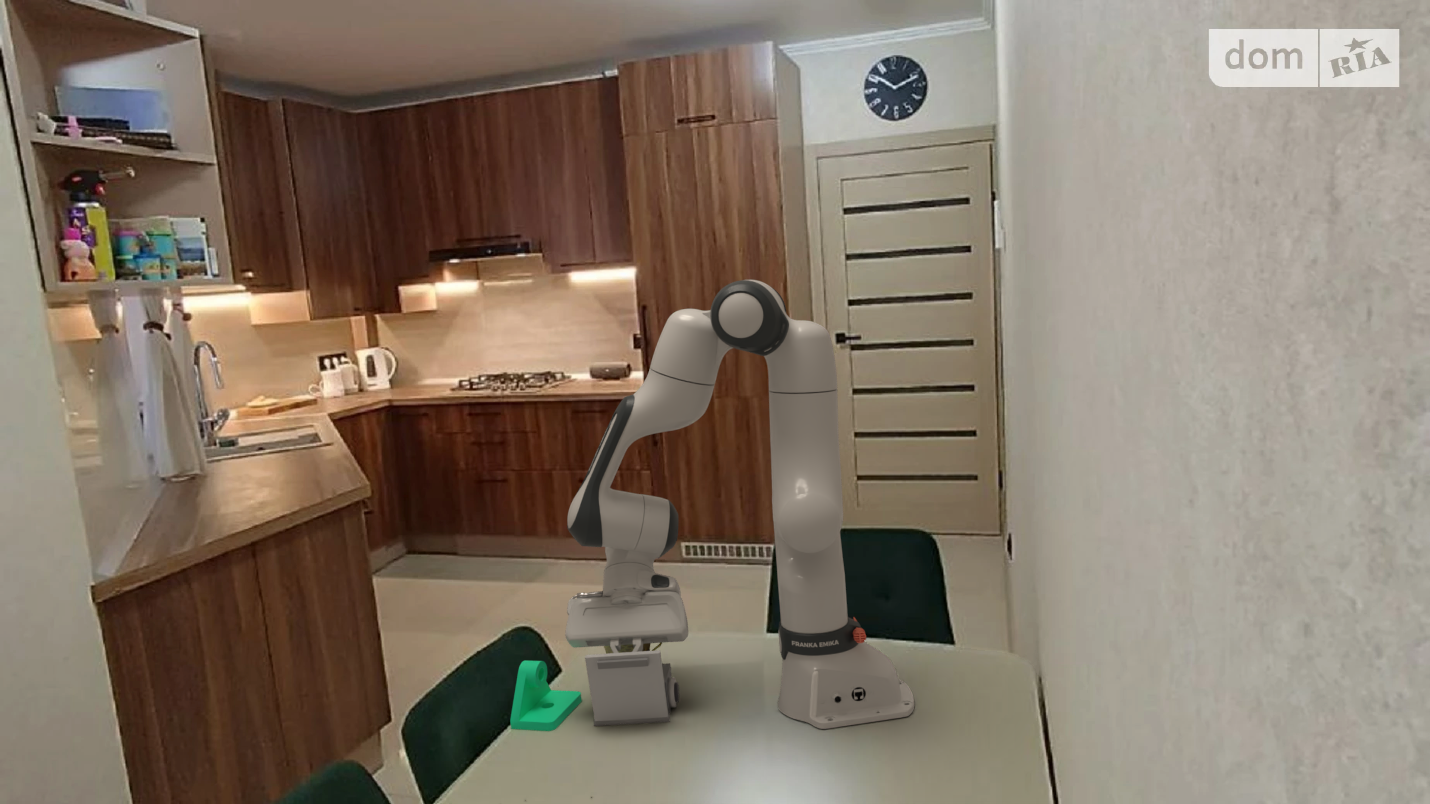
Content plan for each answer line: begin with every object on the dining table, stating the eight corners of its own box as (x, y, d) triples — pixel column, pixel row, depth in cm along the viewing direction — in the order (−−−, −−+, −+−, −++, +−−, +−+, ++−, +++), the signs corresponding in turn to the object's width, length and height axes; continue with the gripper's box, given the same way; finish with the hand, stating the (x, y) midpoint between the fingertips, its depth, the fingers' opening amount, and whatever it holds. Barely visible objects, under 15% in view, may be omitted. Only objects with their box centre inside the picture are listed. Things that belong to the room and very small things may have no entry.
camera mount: (553, 738, 150) (547, 677, 149) (511, 735, 152) (505, 675, 151) (584, 705, 161) (578, 649, 160) (544, 703, 163) (538, 648, 162)
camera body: (681, 701, 159) (678, 662, 158) (677, 722, 151) (674, 682, 150) (605, 706, 160) (601, 667, 159) (597, 727, 152) (593, 687, 151)
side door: (670, 719, 151) (661, 649, 147) (669, 725, 149) (660, 655, 145) (595, 723, 152) (584, 654, 147) (593, 729, 150) (582, 660, 146)
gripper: (564, 585, 155) (557, 664, 146) (685, 577, 154) (685, 657, 145) (572, 601, 160) (566, 679, 151) (689, 594, 159) (689, 672, 150)
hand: (625, 668), depth 148 cm, fingers closed, pressing on side door
